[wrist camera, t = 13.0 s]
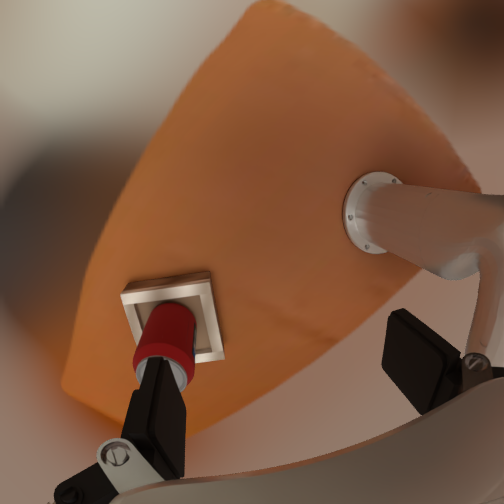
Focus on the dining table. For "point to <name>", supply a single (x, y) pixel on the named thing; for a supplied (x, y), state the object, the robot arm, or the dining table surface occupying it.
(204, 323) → the white square tray
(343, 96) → the dining table surface
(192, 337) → the beverage can
